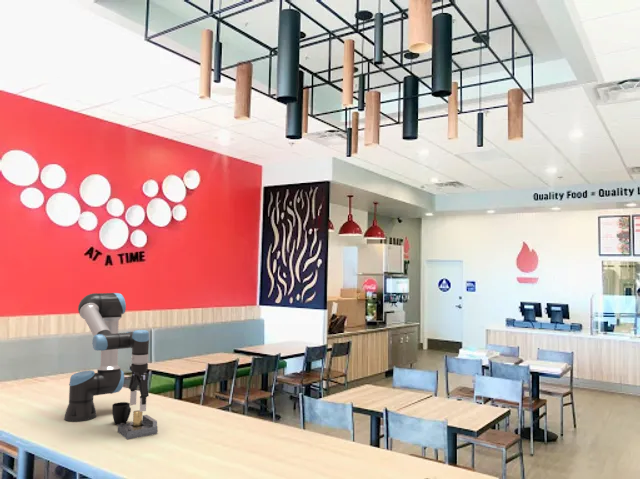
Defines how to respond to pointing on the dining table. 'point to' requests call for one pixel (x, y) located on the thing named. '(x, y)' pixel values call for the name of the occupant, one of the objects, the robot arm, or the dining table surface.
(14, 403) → the dining table surface
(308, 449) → the dining table surface
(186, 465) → the dining table surface
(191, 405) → the dining table surface
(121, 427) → the jig
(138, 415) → the brass cylinder
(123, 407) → the mug
